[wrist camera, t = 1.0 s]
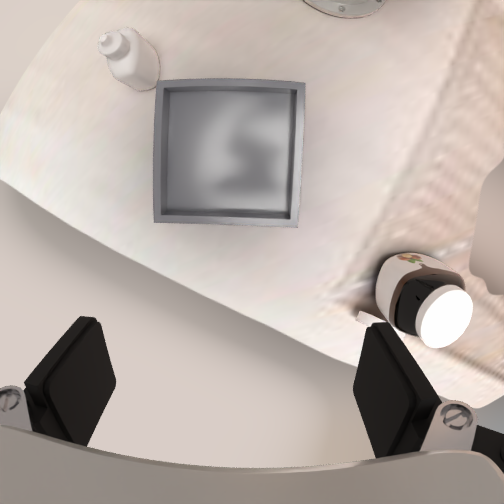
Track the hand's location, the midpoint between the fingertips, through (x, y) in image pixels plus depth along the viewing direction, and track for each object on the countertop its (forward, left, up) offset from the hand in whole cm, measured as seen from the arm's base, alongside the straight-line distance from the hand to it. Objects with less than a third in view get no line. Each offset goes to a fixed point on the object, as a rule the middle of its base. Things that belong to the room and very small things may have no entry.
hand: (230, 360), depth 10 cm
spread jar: (+9, +20, -27) cm, 35 cm away
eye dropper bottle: (-17, -12, -27) cm, 34 cm away
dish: (-7, -2, -27) cm, 28 cm away
